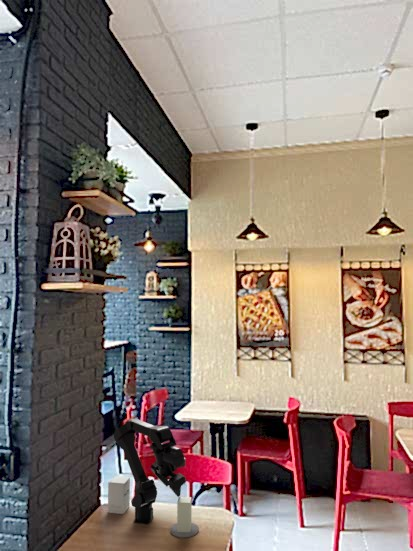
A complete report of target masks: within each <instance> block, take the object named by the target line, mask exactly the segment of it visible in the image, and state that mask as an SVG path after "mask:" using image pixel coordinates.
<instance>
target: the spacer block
mask: <svg viewBox="0 0 413 551" xmlns="http://www.w3.org/2000/svg"><path fill="white" fill-rule="evenodd" d="M177 498H178V499H177V502H176V503H177V506H176V508H177V509H176V514H177V515H176V516H177V517H176V520H177V523H176V524H177V532H190V531H191V523H192V497H191V496H179V497H177Z"/></svg>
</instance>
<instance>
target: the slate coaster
mask: <svg viewBox="0 0 413 551" xmlns="http://www.w3.org/2000/svg"><path fill="white" fill-rule="evenodd" d="M169 529H170V534H171V535H172V536H174V537H177V538H181V539H182V538H184V539H185V538H192V537H194V536H197V534H198V533H199V530H200V529H199V526H198V525H197V524H195V523H193V522H191V531H190V532H177V523H175V524H173V525H172V526H171V527H170V528H169Z"/></svg>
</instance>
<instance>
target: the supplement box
mask: <svg viewBox="0 0 413 551" xmlns="http://www.w3.org/2000/svg"><path fill="white" fill-rule="evenodd" d="M130 478H131V477H128V476H114V477H112V478H111V480H110V481H109V482H108V483H107V484H108V485H107V488H108V490H107V495H108V496H107V513H110V514H120V515H124V514H125V513H126V511H127V510H128V509H129V508H130V502H131V500H130V499H131V498H130V495H131V493H130V492H131V488H130V487H131V486H130V484H131V479H130Z"/></svg>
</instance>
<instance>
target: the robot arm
mask: <svg viewBox="0 0 413 551" xmlns="http://www.w3.org/2000/svg"><path fill="white" fill-rule="evenodd" d="M136 433H139V434H141V435H144V436H146V437H148V438H149V440H150V442H152V443H151V444H150V445H149V447H148V448H149V449H150V450H152V452H153V455H154V458H155V462H153V463H151V466H150V470H151V472H152V473H153V474H154V475H155V477H157V478H158V480H159V481H160V482H162V483H163V485H165V487H166V488H167V487H168V486H169V489H170V490H171V491H172V492H173V493H174V494H175V495H176V496H177V498H179V497H181V490H182V486H184V485H185V484H187V479H186V476H185V475H183V474H182V473H180V472H178V473H175V472H177V471H178V469H179V468H182V467H183V468H184V467H186V459H187V458H186V457H185V456H184V453H183V452H182V451H181V447H177V442H176V439H175V437H174V435H173V432H172V430H171V428H170V427H169V426H166V425H153V424H151V423H148V422H145V421H143V420H140V419H139V418H131V419H128V420H127V421H126V422H125V423H124V424H122V425H121V426H120V427H118V428H117V429H115V431H114V433H113V439H114V441H115V442H116V445H117V446H118V448H120V449H121V450H122V451H123V452H124V456H125V459H126V461H127V463H128V466H129V469H130V471H131V474H132V477H133V479H134V482H135V483H134V484H135V485H134V494H135V495H134V496H133V498H132V499H131V500H130V502H131V507H134V519H133V523H136V524H137V523H138V524H145V525H148V524H149V523H151V521H152V520H153V519H154V508H153V504H155V503H156V499H157V495H158V490H157V489H158V488H157V486H156V484H155V481H154V480H153V479H150V478H148V476H147V474H146V471H145V469H144V467H143V464H142V461H141V459H140V456H139V454H138V451H137V448H136V445H135V443H136Z"/></svg>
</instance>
